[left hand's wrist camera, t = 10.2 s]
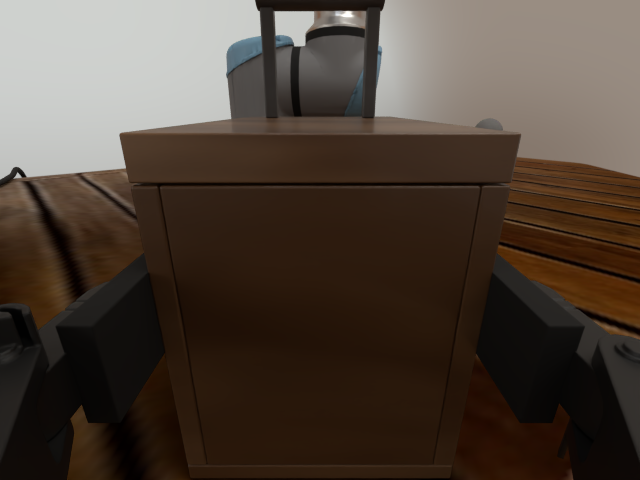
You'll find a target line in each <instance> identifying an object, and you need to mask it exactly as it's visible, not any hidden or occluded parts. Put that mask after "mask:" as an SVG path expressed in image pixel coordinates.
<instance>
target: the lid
mask: <svg viewBox="0 0 640 480" xmlns="http://www.w3.org/2000/svg"><path fill="white" fill-rule="evenodd" d="M255 2H256V6H257V9H258V11H260V22H261V40H262V59H263V77H264V95H265V113H266V117H245V118H237V119H229V120H221V121H213V122H205V123H196V124H188V125H181V126H172V127H165V128H156V129H148V130H141V131H133V132H124V133H120V140H121V145H122V150H123V155H124V160H125V165H126V169H127V174H128V179H129V182H130V183H511V181H512V177H513V172H514V167H515V162H516V157H517V152H518V148H519V143H520V138H521V134H520V133H516V132H508V131H500V130H492V129H484V128H476V127H468V126H460V125H452V124H444V123H436V122H428V121H420V120H412V119H403V118H395V117H375V99H376V81H377V62H378V44H379V26H380V11H382V9H383V7H384V3H385V0H255ZM274 11H366V18H365V42H364V66H363V90H362V114H361V117H279V109H278V85H277V61H276V37H275V14H274Z"/></svg>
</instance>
